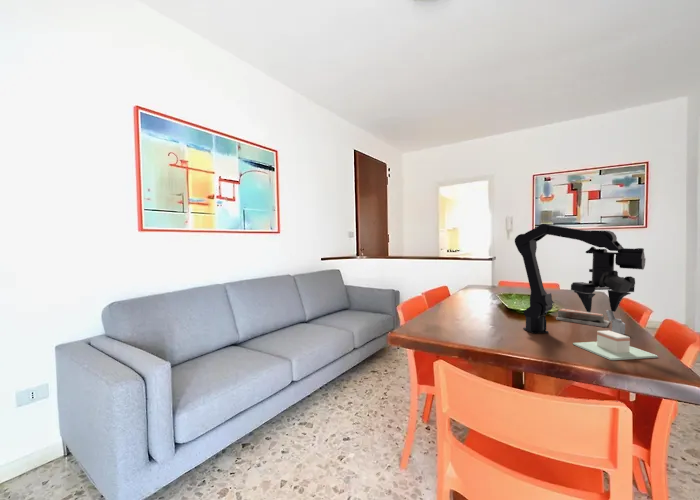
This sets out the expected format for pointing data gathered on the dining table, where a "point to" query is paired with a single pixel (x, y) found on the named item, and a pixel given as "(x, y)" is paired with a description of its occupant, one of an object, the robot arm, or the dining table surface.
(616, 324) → the lighter
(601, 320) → the packaged product
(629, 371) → the dining table surface
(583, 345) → the mat
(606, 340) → the white box
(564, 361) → the dining table surface
